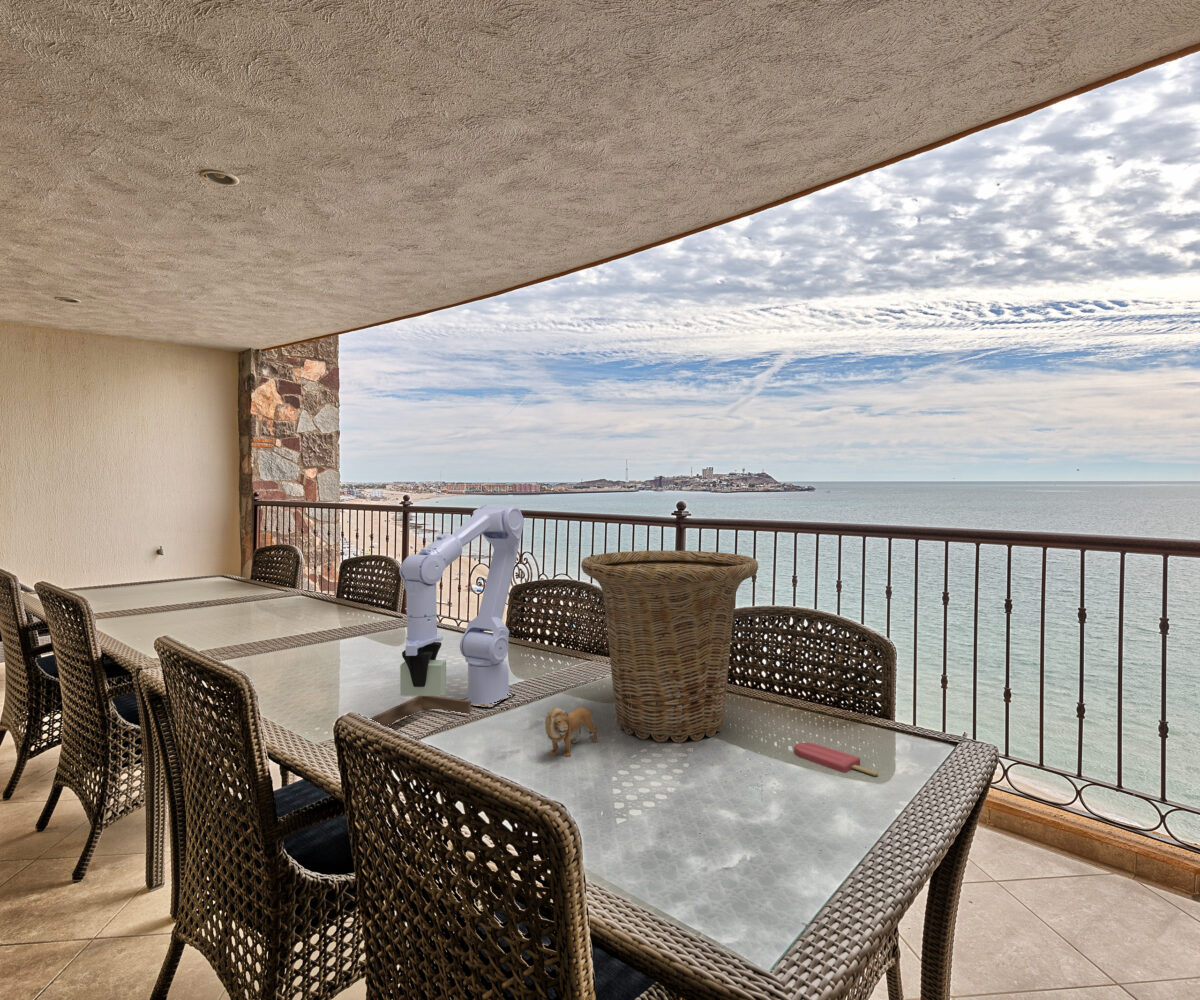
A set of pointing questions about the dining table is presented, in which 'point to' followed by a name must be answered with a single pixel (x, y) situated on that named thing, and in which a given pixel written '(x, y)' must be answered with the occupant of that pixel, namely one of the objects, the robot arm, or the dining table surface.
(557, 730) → the lion figurine
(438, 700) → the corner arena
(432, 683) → the sage block
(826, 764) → the popsicle
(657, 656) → the wicker basket
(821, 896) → the dining table surface
